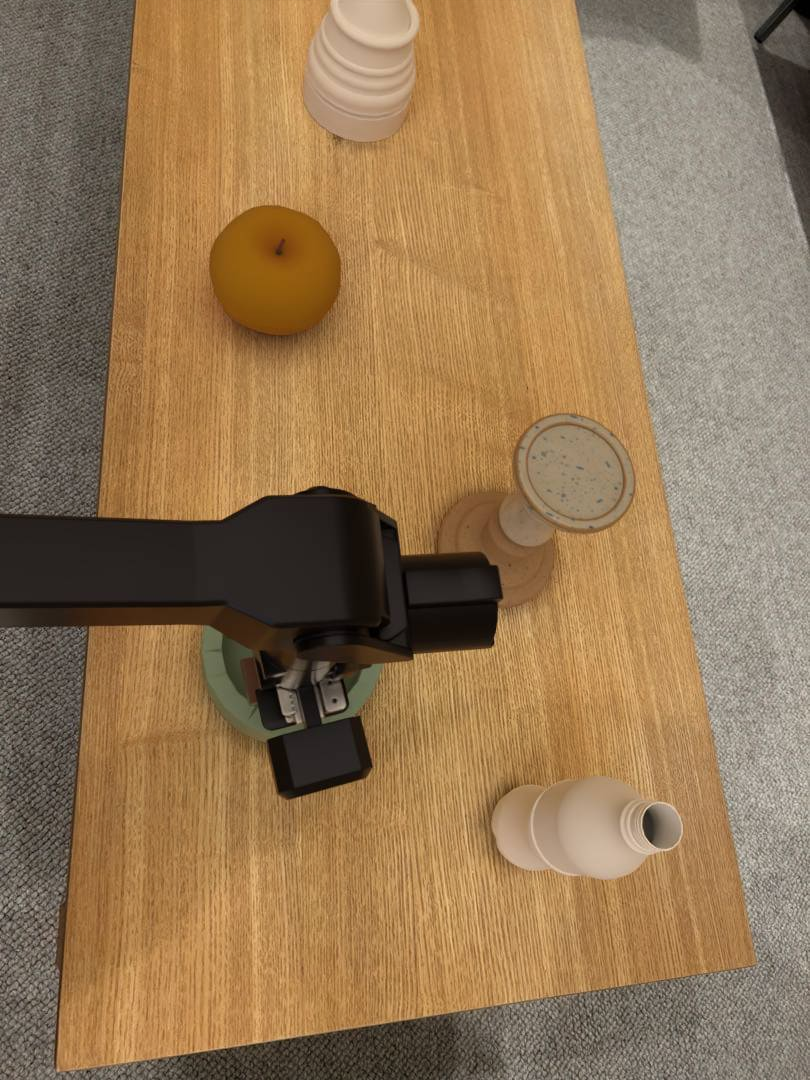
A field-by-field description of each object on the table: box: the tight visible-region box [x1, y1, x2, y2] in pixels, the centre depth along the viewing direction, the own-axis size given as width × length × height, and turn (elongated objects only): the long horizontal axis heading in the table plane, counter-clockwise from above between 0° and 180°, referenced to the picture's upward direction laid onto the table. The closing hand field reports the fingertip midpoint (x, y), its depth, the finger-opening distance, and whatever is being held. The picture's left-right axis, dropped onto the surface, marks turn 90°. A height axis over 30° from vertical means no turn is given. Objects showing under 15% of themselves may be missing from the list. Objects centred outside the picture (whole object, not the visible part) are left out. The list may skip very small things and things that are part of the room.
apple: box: [208, 204, 342, 336], centre depth 81 cm, size 13×13×11 cm
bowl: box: [200, 625, 385, 744], centre depth 71 cm, size 15×15×7 cm
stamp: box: [240, 657, 260, 706], centre depth 62 cm, size 6×4×7 cm, turn 105°
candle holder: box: [437, 412, 637, 609], centre depth 73 cm, size 12×12×20 cm
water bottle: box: [490, 774, 684, 881], centre depth 63 cm, size 7×7×25 cm
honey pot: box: [301, 0, 421, 143], centre depth 90 cm, size 13×13×18 cm
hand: (284, 670), depth 62 cm, fingers closed on stamp, 2 cm apart
